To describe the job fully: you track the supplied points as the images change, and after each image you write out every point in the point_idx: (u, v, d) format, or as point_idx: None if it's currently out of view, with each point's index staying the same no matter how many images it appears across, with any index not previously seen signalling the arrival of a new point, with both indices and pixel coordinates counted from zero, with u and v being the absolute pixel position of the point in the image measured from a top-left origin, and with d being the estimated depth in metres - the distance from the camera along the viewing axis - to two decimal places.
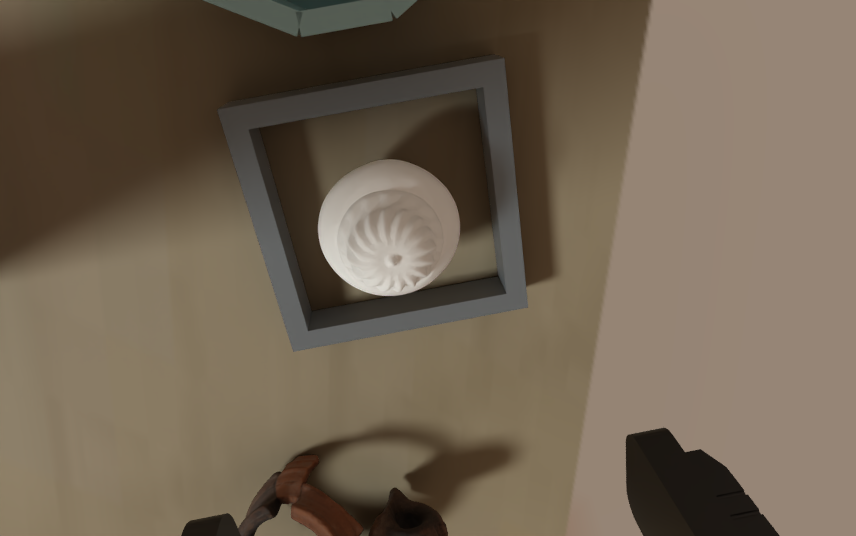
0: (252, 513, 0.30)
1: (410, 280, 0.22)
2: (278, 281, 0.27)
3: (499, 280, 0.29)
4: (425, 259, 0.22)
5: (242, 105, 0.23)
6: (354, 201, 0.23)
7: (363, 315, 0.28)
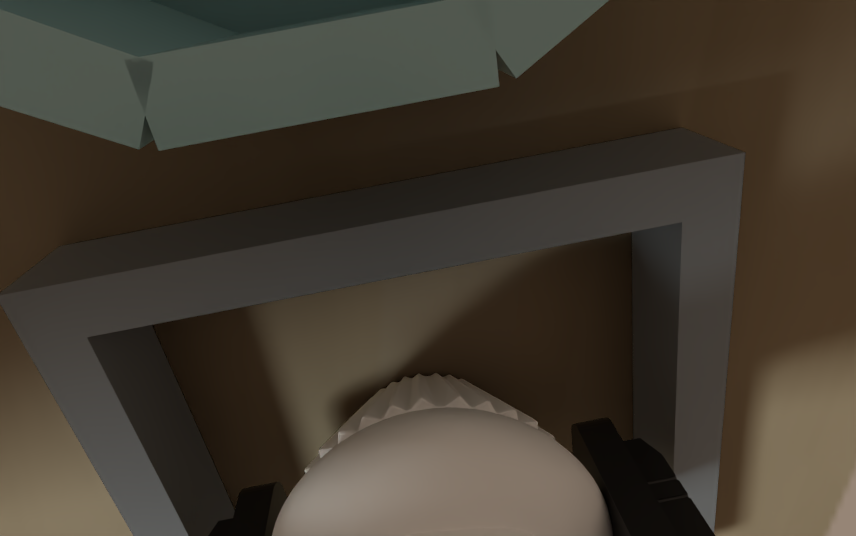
0: None
1: None
2: None
3: None
4: None
5: (65, 282, 0.09)
6: None
7: None
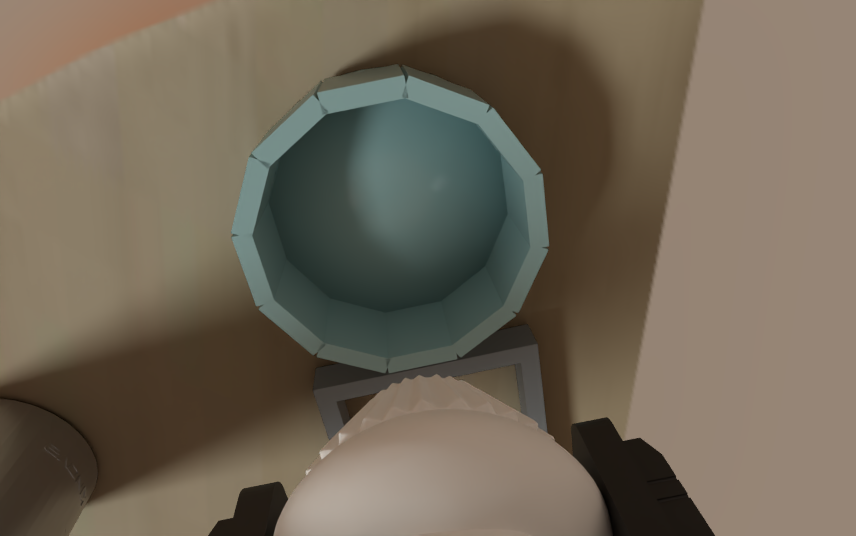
0: None
1: None
2: None
3: None
4: None
5: (332, 385, 0.29)
6: None
7: None
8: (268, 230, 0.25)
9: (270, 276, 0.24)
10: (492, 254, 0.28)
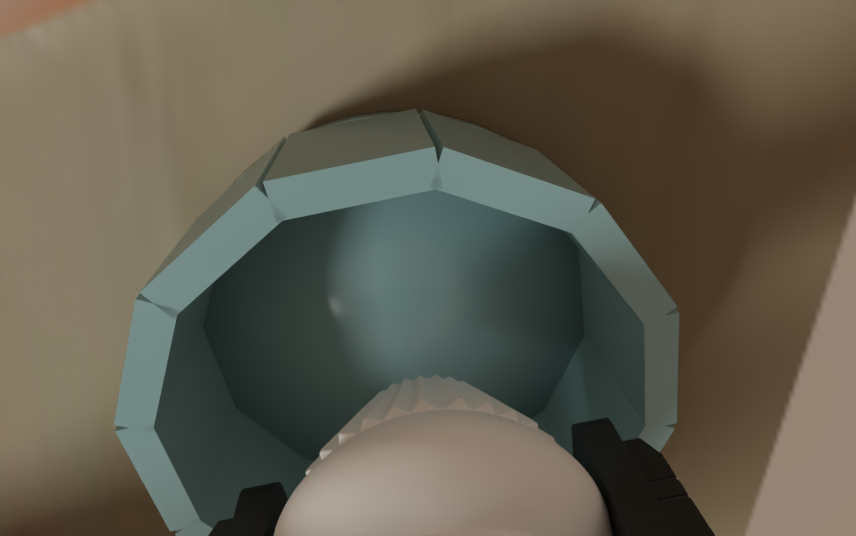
0: None
1: None
2: None
3: None
4: None
5: None
6: None
7: None
8: (198, 384, 0.15)
9: (195, 477, 0.14)
10: (558, 395, 0.18)
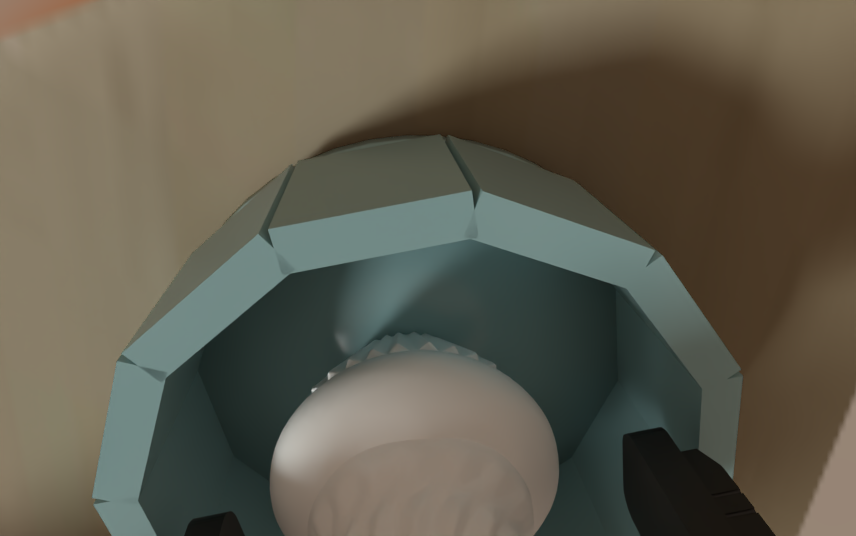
0: None
1: None
2: None
3: None
4: None
5: None
6: (343, 458, 0.10)
7: None
8: (191, 437, 0.13)
9: None
10: (587, 444, 0.16)
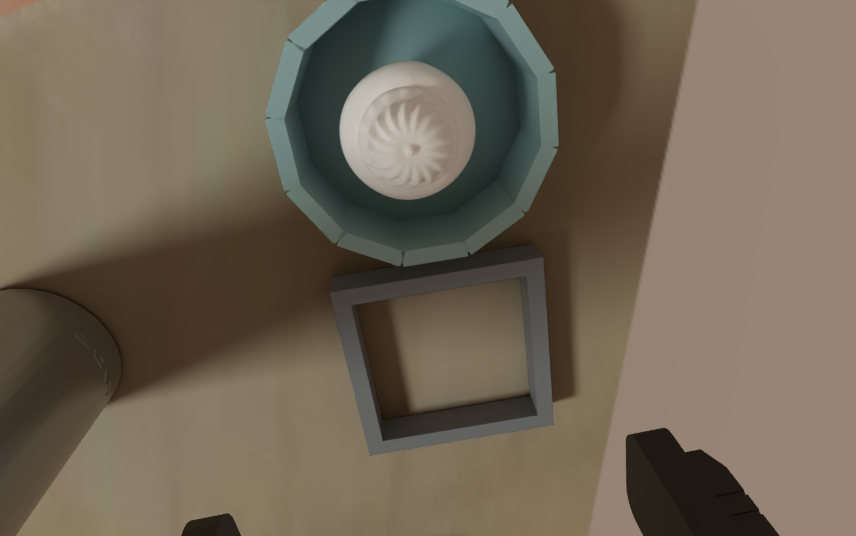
0: None
1: (428, 171, 0.23)
2: (363, 406, 0.35)
3: (531, 400, 0.37)
4: (442, 151, 0.23)
5: (347, 289, 0.31)
6: (375, 98, 0.24)
7: (424, 428, 0.36)
8: (296, 126, 0.27)
9: (297, 164, 0.26)
10: (504, 167, 0.30)
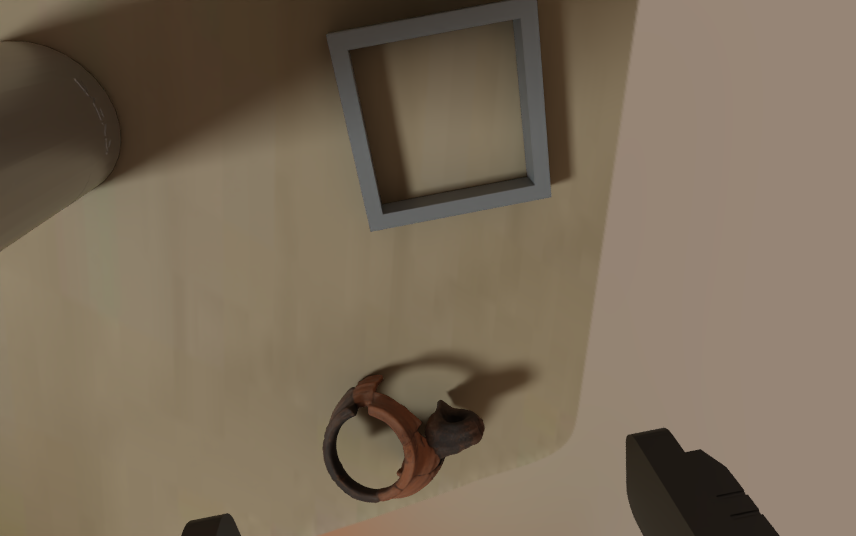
0: (337, 414, 0.40)
1: None
2: (362, 172, 0.35)
3: (528, 178, 0.38)
4: None
5: (344, 31, 0.31)
6: None
7: (423, 203, 0.37)
8: None
9: None
10: None
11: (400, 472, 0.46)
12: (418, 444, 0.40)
